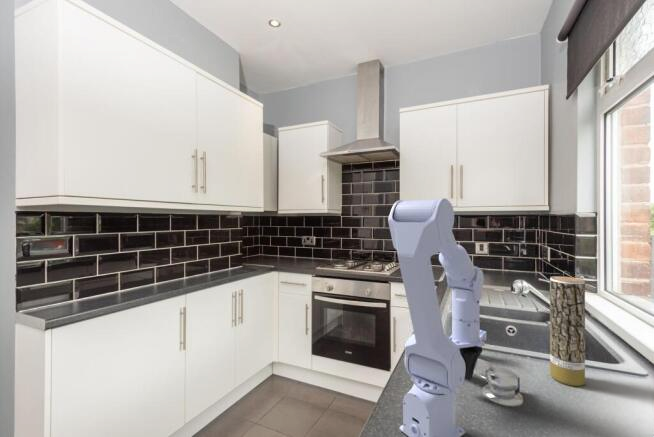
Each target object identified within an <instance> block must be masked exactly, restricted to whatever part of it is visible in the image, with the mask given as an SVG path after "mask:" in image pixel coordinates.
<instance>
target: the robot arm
mask: <svg viewBox="0 0 654 437" xmlns="http://www.w3.org/2000/svg"><path fill="white" fill-rule="evenodd" d="M387 222H388V226H389V231H390V237H391V241H392V246H393V248H394V249H395V250H396V252H397V258H398V264H399V268H400V273H401V278H402V282H403V283H402V284H403V287H404V291H405V297H406V300H407V306H408V310H409V311H408V312H409V315H410V320H411V326H412V329H413V334H411V335H410V336H409V337H408V339H407V340H406V342H405V344H404V347H403V348H404V367H405V371H406V372H407V374H409V375H410V381H411V382H413V385H412V388H411V389H410V390H409V391H408V392H407V393H406V394H405V395H404V396H403V400H402V425H400V426H399V430H400V431H401V432H402V433H404V434H405V435H406V436H408V437H462V436H463V435H465V434H466V430H465V429H464V428H462V427H461V426H459V425H458V424H456V399H455V398H456V395H455V394H456V393H455V392H457V391H458V390H460V389H461V387H462V386H463V384H464V381H465V380H467V381H470V380H471V379H473V376H474V374H473V372H474V368H475V365H476V362H477V359H478V358H479V357H480V356H481V353H483V347H484V346H485V345H486V344H485V343H486V342H485V341H486V340H487V331H485V330H482V329H480V328H481V327H480V324H481V323H480V318H481V317H480V311H481V310H480V300H482V297H483V296H482V295H483V294H482V293H483V286H484V281H485V280H484V279H485V278H484V272H483V270H482V269H480V268H479V267H478V266H475V265H474V264H473V262H472V259H471V257H470V256H469V253H468V252H467V250H466V249H465V247H463V245H460V244H457V241H456V239H455V238H456V237H455V235H454V233H453V228H454V223H455V211H454V206H453V204H452V203H451V202H450V201H449V199H448V198H442V197H441V198H439V199H421V200H419V199H418V200H416V199H415V200H396V201H395V202H394V203H393V205H392V207H391V209H390V213H389V215H388V218H387ZM437 254H439V255H438V261H439V263H440V265H442V268H443V270H444V272H445V276H446V283H447V286H448V287H449V288H450V289H451V335H450V336H447V335H446V334H445V332H444V326H443V321H442V316H441V311H440V304H439V300H438V298H439V297H438V293H437V289H436V283H435V276H434V271H433V266H432V261H431V259H432V256H434V255H437Z"/></svg>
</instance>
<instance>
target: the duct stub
mask: <svg viewBox="0 0 654 437" xmlns="http://www.w3.org/2000/svg"><path fill="white" fill-rule="evenodd" d="M520 379H521V378H520V377H519V376H518V388H517V390H514V391H505V390H500V389H497V388H495V387H493V386H491V385H490V384H489V383H488V384H485V385H484V386H482V389H481V390H482V395H483V396H484V398H486V399H487V400H488V401H490V402H492V403H494V404H496V405H499V406H503V407H506V408H507V407H508V408H509V407H510V408H518V407H520V406H522V405H523V403H524V396H523V395H522V394H521V393H520V389H521V388H520V386H521V384H520V382H521V381H520Z"/></svg>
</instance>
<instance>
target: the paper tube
mask: <svg viewBox="0 0 654 437" xmlns="http://www.w3.org/2000/svg"><path fill="white" fill-rule="evenodd" d="M549 348H550V349H549V368H550V370H549V371H550V374H549V375H550V376H551V378H553V380H555V381H557V382H559V383H561V384H563V385H565V386H566V385H567V386H572V387H581V386H583V385H584V384H585V383H586V283H585V280H584V279H582V278H577V277H572V276H571V277H570V276H559V275H558V276H550V278H549Z"/></svg>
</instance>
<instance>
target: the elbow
mask: <svg viewBox="0 0 654 437" xmlns="http://www.w3.org/2000/svg"><path fill="white" fill-rule="evenodd" d="M473 375H475V376H477V377H480V378H482V379H484V380H486V381H487V383H488V384H490V385H491V386H493V387H495V388H497V389H500V390H505V391H514V390H517V388H518V377H519V376H518V375H517V374H516V373H515V372H514V371H512V370H510V369H507V368H503V367H497V366H495V367H494V366H493V364H492V363H491V362H489V361H487V360H484V359H481V358H479V357H478V359H477V362H476V365H475V368H474V372H473Z"/></svg>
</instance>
